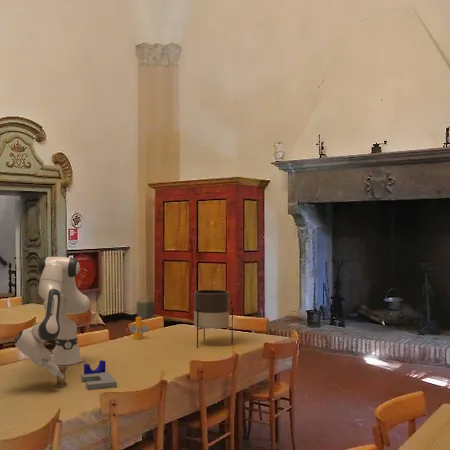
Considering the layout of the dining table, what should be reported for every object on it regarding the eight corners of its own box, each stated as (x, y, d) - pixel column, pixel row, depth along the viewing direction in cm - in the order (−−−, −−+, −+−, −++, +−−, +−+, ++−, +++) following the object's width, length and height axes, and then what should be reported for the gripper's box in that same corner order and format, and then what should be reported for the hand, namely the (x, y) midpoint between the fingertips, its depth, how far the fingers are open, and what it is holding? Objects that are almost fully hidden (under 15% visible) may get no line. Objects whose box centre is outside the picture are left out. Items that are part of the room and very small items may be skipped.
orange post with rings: (150, 338, 413) (150, 316, 413) (140, 340, 404) (140, 318, 404) (136, 336, 419) (136, 315, 419) (126, 338, 411) (127, 317, 410)
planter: (216, 350, 375) (217, 295, 375) (184, 346, 388) (184, 292, 388) (237, 343, 398) (237, 291, 397) (206, 339, 411) (206, 288, 410)
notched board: (81, 379, 303) (81, 374, 303) (108, 377, 309) (108, 372, 309) (87, 389, 285) (87, 384, 285) (116, 387, 290) (116, 382, 290)
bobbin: (54, 384, 293) (54, 366, 293) (66, 383, 295) (66, 365, 295) (55, 387, 288) (56, 369, 288) (67, 386, 290) (67, 368, 290)
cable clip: (89, 376, 310) (89, 365, 309) (83, 375, 312) (84, 364, 312) (107, 372, 319) (107, 361, 319) (101, 371, 322) (101, 360, 322)
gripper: (49, 356, 279) (70, 375, 283) (44, 348, 298) (64, 366, 302) (39, 367, 278) (60, 386, 282) (35, 357, 297) (55, 375, 300)
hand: (62, 375), depth 292 cm, fingers open, 6 cm apart
